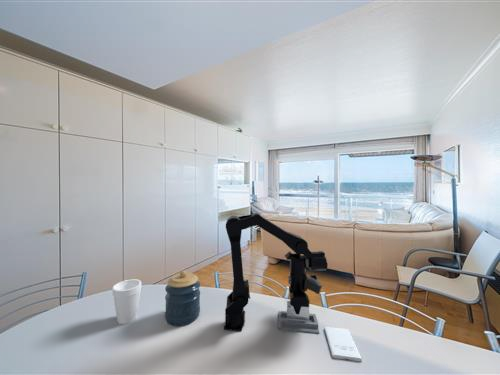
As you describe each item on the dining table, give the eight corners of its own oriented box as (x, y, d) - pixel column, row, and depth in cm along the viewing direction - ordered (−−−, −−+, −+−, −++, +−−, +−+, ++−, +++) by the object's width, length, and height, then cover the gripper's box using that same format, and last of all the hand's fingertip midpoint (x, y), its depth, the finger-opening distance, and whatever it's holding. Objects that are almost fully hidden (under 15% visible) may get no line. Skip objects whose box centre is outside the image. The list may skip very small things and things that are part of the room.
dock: (278, 329, 74) (278, 324, 74) (278, 312, 84) (278, 308, 84) (319, 333, 72) (319, 328, 72) (315, 315, 82) (315, 311, 82)
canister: (157, 322, 77) (157, 274, 77) (180, 303, 90) (180, 262, 89) (186, 330, 73) (186, 280, 73) (206, 310, 85) (206, 267, 85)
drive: (286, 317, 77) (287, 304, 77) (286, 313, 80) (286, 300, 80) (309, 320, 76) (309, 306, 76) (308, 315, 79) (308, 302, 79)
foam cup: (106, 323, 77) (106, 287, 76) (129, 309, 85) (129, 277, 85) (124, 329, 73) (124, 293, 73) (146, 314, 82) (146, 281, 82)
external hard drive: (348, 333, 73) (361, 363, 61) (324, 330, 74) (332, 359, 62) (348, 329, 73) (362, 358, 61) (324, 326, 74) (332, 354, 62)
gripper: (325, 283, 67) (325, 331, 68) (315, 262, 86) (315, 300, 86) (290, 280, 69) (290, 327, 69) (288, 260, 87) (287, 297, 88)
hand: (297, 311), depth 78 cm, fingers closed on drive, 2 cm apart
